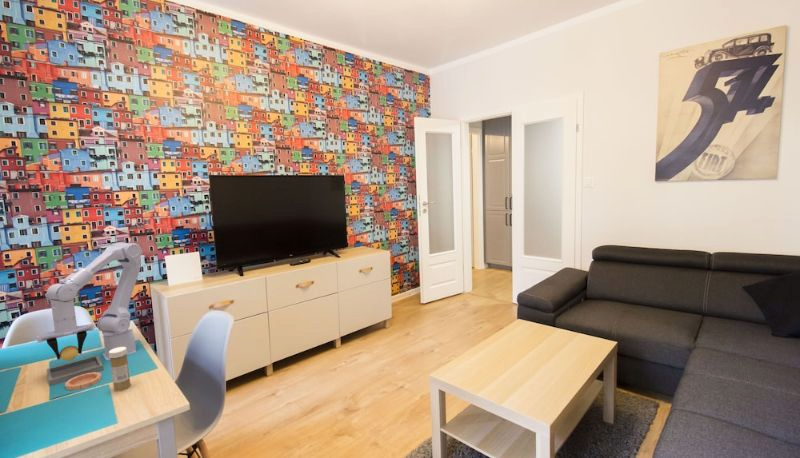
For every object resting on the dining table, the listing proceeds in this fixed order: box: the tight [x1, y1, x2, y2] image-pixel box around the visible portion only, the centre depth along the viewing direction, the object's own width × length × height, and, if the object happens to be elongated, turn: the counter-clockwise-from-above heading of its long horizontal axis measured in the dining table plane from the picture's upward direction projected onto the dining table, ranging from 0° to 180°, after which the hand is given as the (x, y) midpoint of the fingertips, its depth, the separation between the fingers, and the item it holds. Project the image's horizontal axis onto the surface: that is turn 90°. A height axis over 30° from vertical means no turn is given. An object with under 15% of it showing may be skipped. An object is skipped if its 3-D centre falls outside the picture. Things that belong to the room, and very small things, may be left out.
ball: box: [59, 345, 79, 362], centre depth 129 cm, size 5×5×5 cm
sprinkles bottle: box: [109, 347, 132, 393], centre depth 118 cm, size 5×5×13 cm
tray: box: [46, 355, 105, 387], centre depth 130 cm, size 14×12×2 cm
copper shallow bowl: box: [64, 372, 103, 391], centre depth 123 cm, size 9×9×2 cm
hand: (69, 355), depth 129 cm, fingers closed on ball, 5 cm apart
